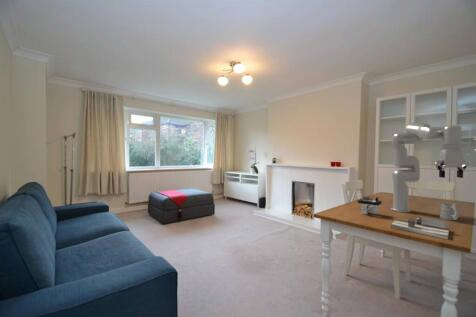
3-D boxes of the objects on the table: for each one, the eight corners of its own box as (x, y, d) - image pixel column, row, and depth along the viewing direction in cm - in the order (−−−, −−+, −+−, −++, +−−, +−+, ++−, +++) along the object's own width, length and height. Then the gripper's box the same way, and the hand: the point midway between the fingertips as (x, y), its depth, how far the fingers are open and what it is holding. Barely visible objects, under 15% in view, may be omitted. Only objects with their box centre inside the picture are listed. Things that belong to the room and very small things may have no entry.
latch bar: (416, 223, 136) (416, 217, 135) (417, 222, 137) (417, 217, 137) (445, 228, 126) (445, 222, 126) (445, 227, 128) (445, 221, 128)
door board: (397, 221, 148) (397, 212, 148) (449, 230, 130) (449, 220, 130) (390, 227, 135) (391, 217, 135) (447, 239, 117) (447, 228, 117)
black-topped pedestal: (342, 213, 167) (342, 196, 166) (356, 207, 184) (356, 191, 183) (385, 222, 146) (386, 202, 145) (397, 215, 163) (397, 197, 163)
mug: (448, 217, 157) (448, 200, 156) (463, 222, 145) (464, 204, 144) (436, 217, 157) (437, 200, 157) (451, 222, 145) (451, 204, 145)
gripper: (461, 147, 131) (460, 176, 132) (430, 147, 132) (429, 176, 133) (474, 147, 124) (473, 178, 124) (441, 147, 125) (440, 178, 125)
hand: (450, 177), depth 129 cm, fingers open, 9 cm apart
